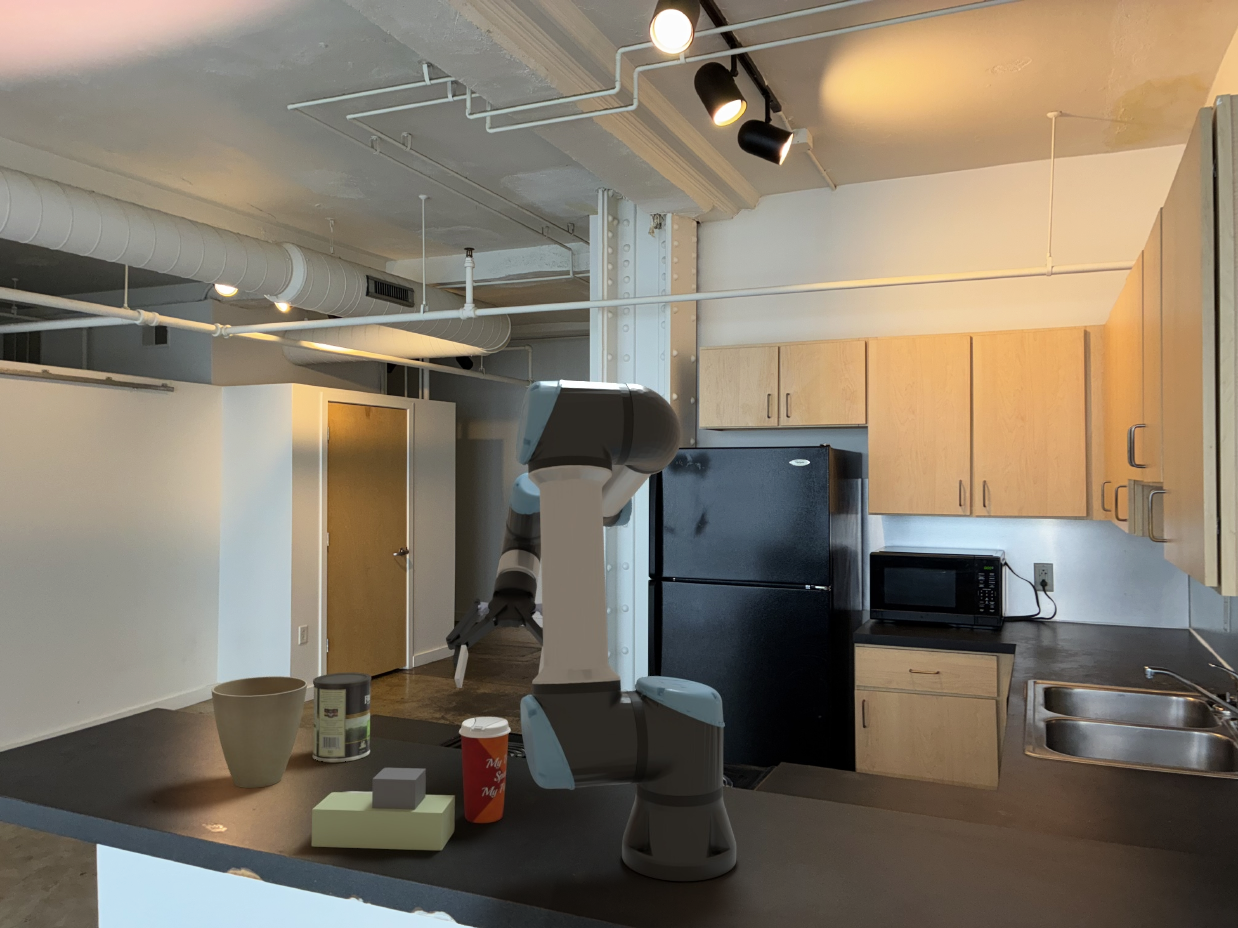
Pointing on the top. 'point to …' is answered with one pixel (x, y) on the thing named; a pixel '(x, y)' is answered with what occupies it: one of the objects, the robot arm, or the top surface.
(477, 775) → the paper cup
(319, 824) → the green block with cube
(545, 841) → the top surface
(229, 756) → the plant pot
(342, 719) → the coffee can
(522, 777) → the top surface
